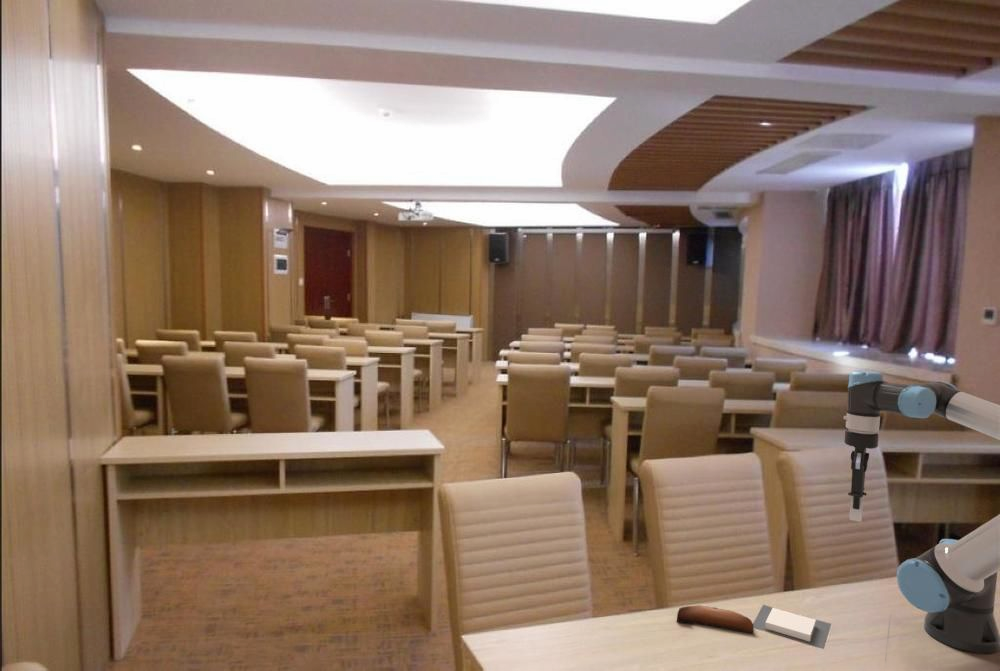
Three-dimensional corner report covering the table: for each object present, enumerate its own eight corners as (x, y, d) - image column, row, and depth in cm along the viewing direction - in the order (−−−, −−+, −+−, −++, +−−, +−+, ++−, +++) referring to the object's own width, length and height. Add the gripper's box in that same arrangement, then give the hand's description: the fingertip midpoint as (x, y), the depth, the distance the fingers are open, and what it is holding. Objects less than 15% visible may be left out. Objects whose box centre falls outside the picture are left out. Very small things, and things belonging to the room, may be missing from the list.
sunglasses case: (751, 619, 162) (753, 603, 158) (752, 645, 156) (754, 629, 152) (677, 607, 167) (677, 591, 163) (675, 631, 161) (676, 616, 158)
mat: (830, 626, 160) (830, 623, 160) (823, 651, 148) (823, 648, 148) (763, 606, 168) (763, 604, 168) (751, 629, 157) (751, 626, 157)
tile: (815, 619, 158) (810, 635, 150) (815, 626, 158) (809, 642, 150) (772, 607, 163) (765, 622, 156) (772, 614, 163) (764, 629, 156)
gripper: (847, 424, 172) (841, 510, 174) (842, 432, 161) (836, 523, 163) (880, 428, 168) (873, 516, 170) (877, 437, 157) (870, 530, 159)
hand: (855, 519), depth 166 cm, fingers closed
